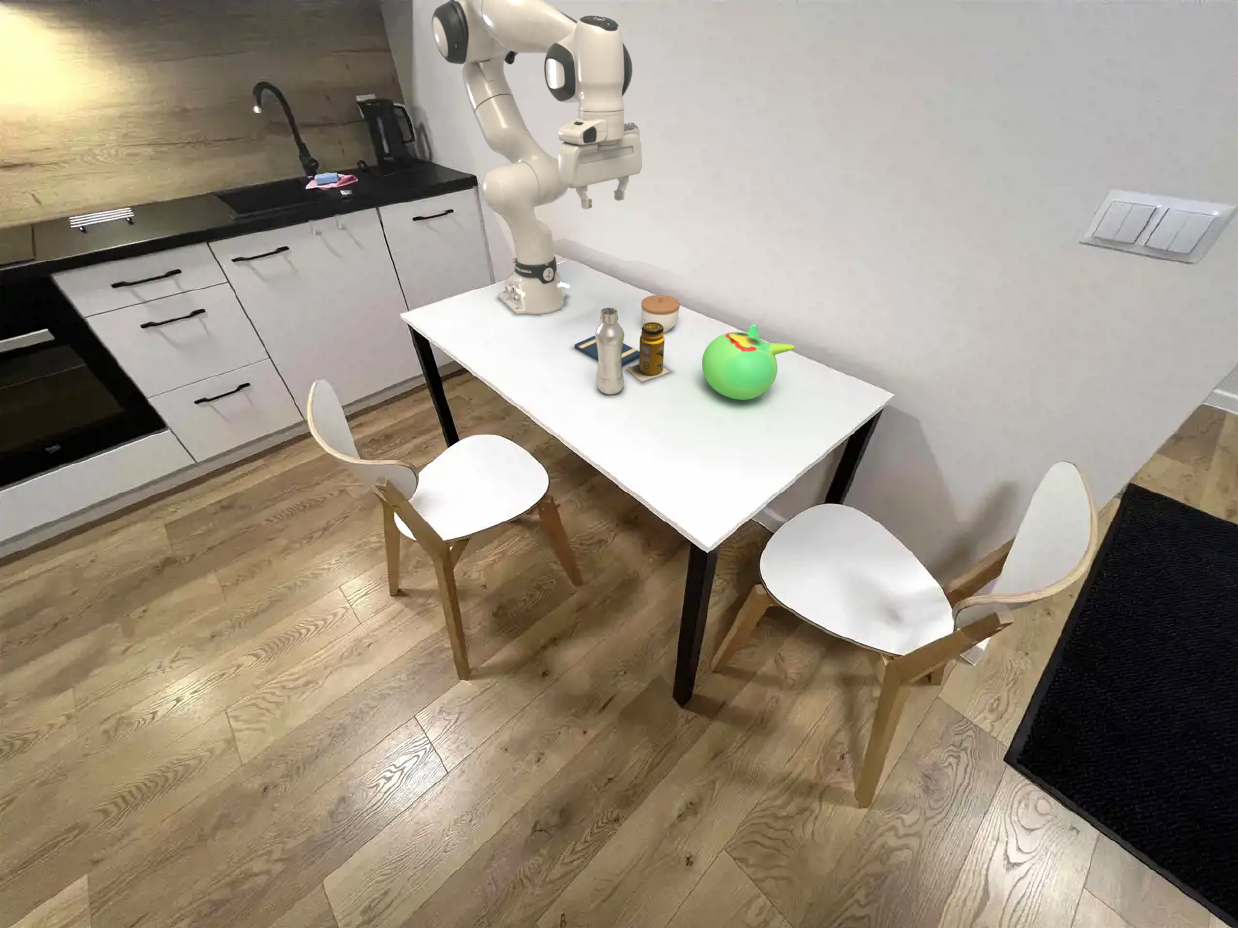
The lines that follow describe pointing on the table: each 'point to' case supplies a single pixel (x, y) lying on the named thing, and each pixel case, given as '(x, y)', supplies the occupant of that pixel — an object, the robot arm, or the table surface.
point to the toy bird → (741, 364)
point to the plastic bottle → (609, 352)
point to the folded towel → (591, 350)
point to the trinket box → (660, 310)
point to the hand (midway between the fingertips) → (603, 204)
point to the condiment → (650, 353)
